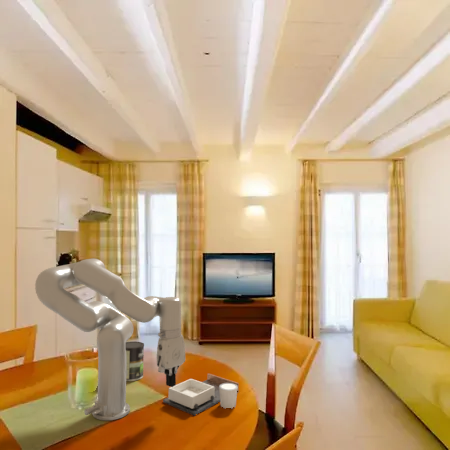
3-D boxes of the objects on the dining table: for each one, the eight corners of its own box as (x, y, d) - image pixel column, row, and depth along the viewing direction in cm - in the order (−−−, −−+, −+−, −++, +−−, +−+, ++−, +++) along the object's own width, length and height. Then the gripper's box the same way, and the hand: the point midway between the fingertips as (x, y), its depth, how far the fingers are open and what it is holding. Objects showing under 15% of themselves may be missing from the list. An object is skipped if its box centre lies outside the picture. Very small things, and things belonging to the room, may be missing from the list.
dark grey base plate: (194, 415, 131) (194, 405, 131) (163, 402, 141) (163, 392, 141) (238, 391, 152) (238, 383, 152) (208, 381, 161) (208, 373, 162)
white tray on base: (193, 409, 133) (193, 397, 133) (167, 399, 141) (167, 387, 141) (215, 398, 142) (215, 387, 142) (189, 388, 151) (189, 378, 151)
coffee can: (145, 372, 170) (146, 341, 171) (140, 381, 160) (140, 348, 160) (123, 372, 170) (123, 340, 171) (116, 381, 160) (116, 347, 160)
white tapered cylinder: (215, 406, 138) (215, 387, 138) (224, 399, 144) (224, 381, 144) (232, 411, 135) (232, 391, 135) (240, 403, 141) (240, 384, 141)
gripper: (161, 339, 125) (162, 395, 124) (192, 330, 136) (193, 381, 136) (146, 335, 129) (147, 389, 129) (178, 327, 141) (178, 376, 141)
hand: (170, 385), depth 132 cm, fingers closed
